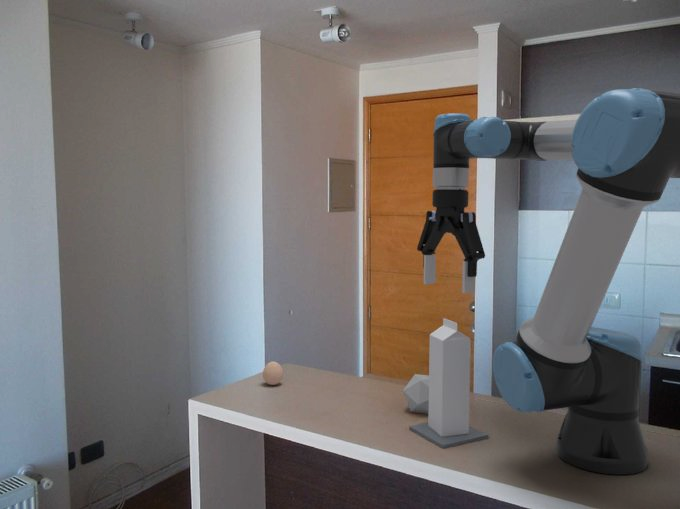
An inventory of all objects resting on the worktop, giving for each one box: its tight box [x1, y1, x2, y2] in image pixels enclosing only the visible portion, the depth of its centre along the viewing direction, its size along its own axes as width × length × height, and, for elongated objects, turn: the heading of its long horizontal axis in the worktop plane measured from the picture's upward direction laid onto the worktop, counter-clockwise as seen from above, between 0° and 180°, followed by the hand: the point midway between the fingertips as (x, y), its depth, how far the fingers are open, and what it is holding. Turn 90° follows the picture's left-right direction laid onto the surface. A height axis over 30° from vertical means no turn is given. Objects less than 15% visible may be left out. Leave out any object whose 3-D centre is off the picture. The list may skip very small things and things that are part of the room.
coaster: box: [408, 422, 489, 449], centre depth 121 cm, size 11×11×1 cm
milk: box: [427, 317, 472, 437], centre depth 120 cm, size 6×6×22 cm
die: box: [402, 373, 429, 415], centre depth 134 cm, size 8×9×10 cm
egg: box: [262, 361, 284, 386], centre depth 154 cm, size 5×5×6 cm
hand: (448, 288), depth 132 cm, fingers open, 13 cm apart
